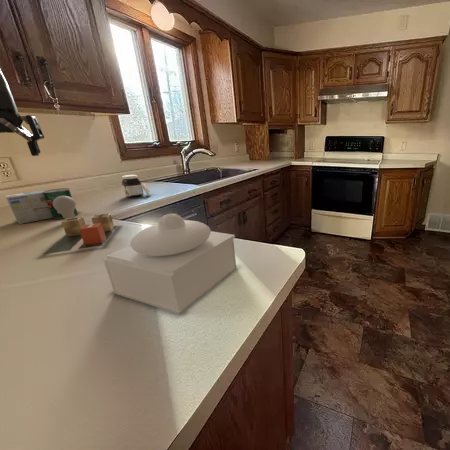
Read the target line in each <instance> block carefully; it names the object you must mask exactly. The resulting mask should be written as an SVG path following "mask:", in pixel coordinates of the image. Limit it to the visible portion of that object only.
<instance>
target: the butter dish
mask: <svg viewBox="0 0 450 450" xmlns="http://www.w3.org/2000/svg"><path fill="white" fill-rule="evenodd" d="M234 239H236V235H235V234H231V233H225V232H219V231H212V230H211V228H210V226H209V225H207V224H205V223H204V222H201V221H197V220H189V219H183V217H182V216H181V215H179V214H178V213H167V214H164V215H162V216H161V217H160V218H159V220H158V223H156V224H153V225H151V226H148V227H146V228H144V229H142V230H140V231H139V232H138V233H136V234H135V235H134V236H133V237H132V239H130V244H129V246H126V247H124V248H121V249H119V250H116V251H114V252H111V253H109V254H107V255H105V256H106V258H104V259H103V263H104V266H105V269H106V272H107V275H108V278H109V281H110V284H111V287H112V290H113V293H114V295H118V296H120V297H125V298H127V299H130V300H133V301H137V302H140V303H142V304H146V305H149V306H153V307H155V308H158V309H162V310H165V311H168V312H171V313H174V314H177V315H180V314H181V313H182V312H184V310H186V309H187V308H189V307H190V306H191V305H192V304H194V303H195V302H196V301H197V300H198V299H200V298H201V297H202V296H203V295H205V294H206V293H207V292H208V291H210V290H211V289H212V288H213V287H214V286H216V285H217V284H218V283H220V282H221V281H222V280H223V279H224V278H227V276H228V275H229V274H231V273H232V272H233V271H235V270H236V269H237V262H236V254H235V245H234V244H235V243H234Z"/></svg>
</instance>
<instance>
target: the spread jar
mask: <svg viewBox="0 0 450 450" xmlns="http://www.w3.org/2000/svg"><path fill="white" fill-rule="evenodd" d="M121 178H122V181H121V187H122V190H123V194H124V196H125V197H126V198H127V199H137V198H142V197H143V196H144V193H145V194H146V195H147V196H148V197H150V196H151V195H152V193H151V191H150V190H149V188H148V186H147V185H146V184H145V183H142V182H141V181H140V179H139V177H138V174H125V175H121Z"/></svg>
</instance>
